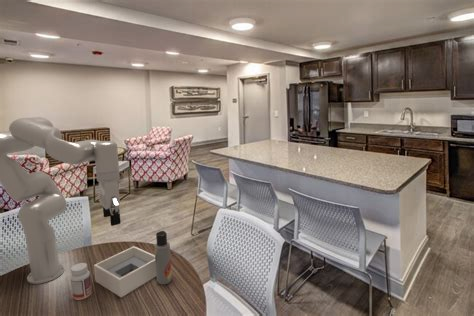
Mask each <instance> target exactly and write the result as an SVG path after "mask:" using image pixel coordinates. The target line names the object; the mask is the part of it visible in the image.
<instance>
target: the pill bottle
mask: <svg viewBox="0 0 474 316" xmlns="http://www.w3.org/2000/svg"><path fill="white" fill-rule="evenodd" d="M88 267H89V266H88V264H87V263H86V262H81V263H80V262H79V263H77V264H73V265H72V267H71V268H70V271H71V272H70V273H71V274H70V284H71V292H72V297H73V299H74V300H76V301H80V300H85V299H87V298H88V297H90V296H91V295H92V293H93V288H92V287H93V286H92V279H91V272H90V271H89V270H88Z"/></svg>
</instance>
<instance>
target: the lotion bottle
mask: <svg viewBox="0 0 474 316" xmlns="http://www.w3.org/2000/svg"><path fill="white" fill-rule="evenodd" d="M155 236H156V239H155V240H156V243H155V244H154V247H153V248H154V255H155V262H156V282H157V283H158V284H159V285H168V284H169V283H171V281H172V279H173V278H172V276H173V275H172V273H173V272H172V259H171V258H172V257H171V244H170V242H168V236H167V232H166V231H165V230H160V231H158V232H156V234H155Z"/></svg>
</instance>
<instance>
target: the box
mask: <svg viewBox="0 0 474 316" xmlns="http://www.w3.org/2000/svg"><path fill="white" fill-rule="evenodd" d="M93 269H94V270H93V271H94V279H95V282H96V283H98V284H99V285H101V286H102V287H103V288H105V289H107V290H109V291H110V292H111V293H113V294H115V295H116V296H117V297H119V298H123V297H125V296H127V295H128V294H130V293H131V292H133V291H134V290H136V289H137V288H140V287H141V286H143V285H144V284H146V283H148V282H149V281H151V280H152V279H154V278H155V277H156V278H157V276H156V262H155V254H152V252H151V253H150V252H148V251H146V250H143V249H141V248H140V247H137V246H135V245H133V246H131V247H129V248H127V249H125V250H123V251H121V252H118V253H116V254H114V255H112V256H109V257H108V258H106V259H104V260H102V261H99V262H97V263H95V264H93ZM128 272H129V273H128ZM122 275H123V276H122Z"/></svg>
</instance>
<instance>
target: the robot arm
mask: <svg viewBox="0 0 474 316" xmlns="http://www.w3.org/2000/svg"><path fill="white" fill-rule="evenodd" d="M8 129H9V130H6V131H5V130H3V131H0V184H1V187H3V189H4V190H5V192H6V193H7V194H8V196H9V197H10V198H11V199H12V200H13V201H15V202H24V201H27V200H29V199H32V198H33V199H34V198H35V197H37V196H38V197H39V198H37V199H34V200H31V201H28V202H26V203H25V204H23V205H22V206H21V207H20V209H18V212H17V213H18V215H17V216H18V220H19V222H20V224H21V226H22V230H23V232H24V238H25V243H26V244H25V245H26V248H27V255H28V260H29V268H30V272H29V274H28V275H27V276H26V280H27V282H28V283H29V284H31V285H32V284H34V285H40V284H44V283H48V282H51V281H53V280H55V279H57V278H59V277H60V276H61V275H62V274H63V273H64V272H65V265H63V264H61V263H60V262H59V254H58V247H57V240H56V234H55V229H54V228H53V227H52V225H50V223H49V221H50V220H52V219H54V218H56V217H58V216H60V215H62V214H63V213H64V212H66V210H67V207H68V205H67V201H66V198H65V197H64V195H63V193H62V192H61V189H60V188H58V185H56V183H55V181H54V179H53V178H52V177H51V176H50V175H49V174H47V173H46V172H43V171H35V172H30V173H28V172H26V171H25V169H24V168H23V167H22V165H21V164H20V162H18V161H17V160H16V159H14V158H12V157H10V156H9V155H8V154H12V153H18V152H19V153H20V152H25V151H28V150H30V149H32V148H35V147H39V148H41V149H43V150H44V151H45V153H46V154H47V155H48V156H49V157H51V158H52V159H53V160H55V161H59V162H62V163H64V164H69V165H81V164H85V163H87V162H91V161H95V171H96V172H95V173H96V181H97V182H98V194H99V195H98V197H99V198H98V199H99V200H98V201H99V204H100V205H101V206H102V212H103V213H102V214H103V218H109V219H110V226H112V227H113V226H114V227H115V226H118V225H120V224H121V211H120V206H121V205H120V203H121V200H120V199H121V198H120V189H119V183H118V181H119V180H120V179H121V178H120V165H119V152H118V150H119V149H118V144H117V143H116V141H113V140H98V139H86V140H85V139H84V140H79V141H74V142H70V141H67V140H65V139H62V138H63V136H62V135H63V134H62V131H60V129H58V128H57V127H54V124H53V123H52V122H51V121H50V120H49V119H47V118H46V117H41V116H39V117H36V116H35V117H21V118H17V119H14V120H13V121H12V122H11V123H10V124H9V127H8Z"/></svg>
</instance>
